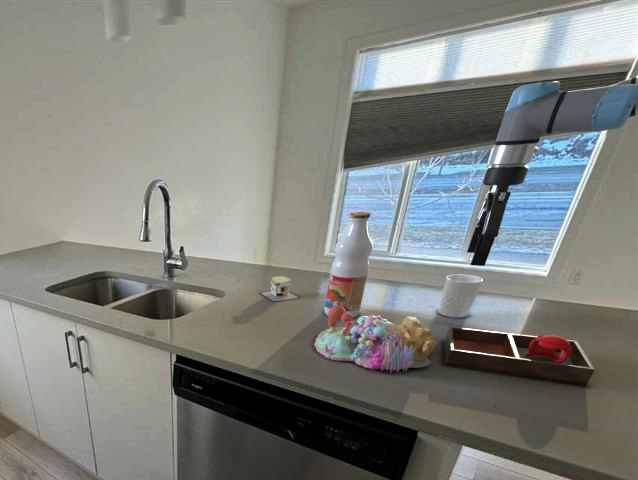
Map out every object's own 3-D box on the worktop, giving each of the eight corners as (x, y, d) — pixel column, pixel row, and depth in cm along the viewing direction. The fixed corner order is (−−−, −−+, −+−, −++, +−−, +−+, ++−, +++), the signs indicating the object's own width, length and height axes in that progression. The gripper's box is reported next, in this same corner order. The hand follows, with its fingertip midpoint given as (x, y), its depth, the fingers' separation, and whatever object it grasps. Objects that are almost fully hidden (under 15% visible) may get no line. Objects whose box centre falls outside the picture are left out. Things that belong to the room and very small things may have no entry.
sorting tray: (568, 356, 88) (577, 340, 87) (585, 386, 78) (595, 369, 77) (444, 340, 100) (449, 326, 98) (445, 365, 90) (450, 349, 88)
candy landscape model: (414, 332, 105) (424, 298, 100) (448, 376, 85) (462, 336, 81) (310, 329, 112) (315, 297, 107) (320, 369, 93) (326, 332, 88)
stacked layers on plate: (259, 292, 142) (261, 277, 139) (283, 289, 143) (285, 274, 140) (273, 301, 133) (275, 285, 131) (298, 297, 134) (301, 281, 132)
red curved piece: (523, 351, 90) (535, 326, 87) (561, 357, 87) (574, 331, 84) (524, 365, 85) (536, 339, 82) (563, 372, 81) (577, 345, 78)
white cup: (466, 309, 115) (479, 274, 110) (473, 319, 109) (486, 283, 104) (433, 307, 118) (443, 273, 113) (438, 317, 112) (449, 281, 107)
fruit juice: (362, 319, 115) (386, 214, 101) (327, 319, 117) (345, 216, 103) (353, 307, 123) (374, 209, 109) (320, 308, 125) (336, 211, 111)
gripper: (540, 169, 83) (499, 272, 93) (521, 160, 100) (488, 248, 111) (493, 171, 86) (459, 270, 97) (482, 162, 104) (455, 247, 115)
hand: (475, 258), depth 104 cm, fingers open, 13 cm apart
